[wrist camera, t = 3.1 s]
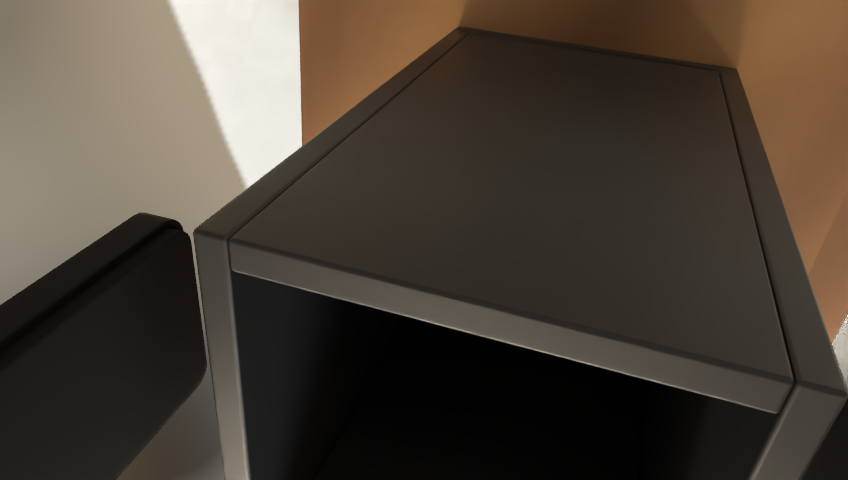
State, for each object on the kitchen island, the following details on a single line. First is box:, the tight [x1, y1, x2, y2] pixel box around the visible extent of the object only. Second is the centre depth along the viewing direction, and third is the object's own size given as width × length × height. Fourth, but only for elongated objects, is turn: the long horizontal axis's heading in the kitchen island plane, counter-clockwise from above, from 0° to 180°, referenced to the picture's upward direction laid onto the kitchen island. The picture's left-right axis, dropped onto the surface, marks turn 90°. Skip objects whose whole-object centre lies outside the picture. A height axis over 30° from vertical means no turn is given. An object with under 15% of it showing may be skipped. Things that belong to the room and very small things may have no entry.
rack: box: [299, 0, 848, 344], centre depth 21 cm, size 14×12×12 cm
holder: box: [193, 26, 848, 480], centre depth 11 cm, size 6×6×10 cm
